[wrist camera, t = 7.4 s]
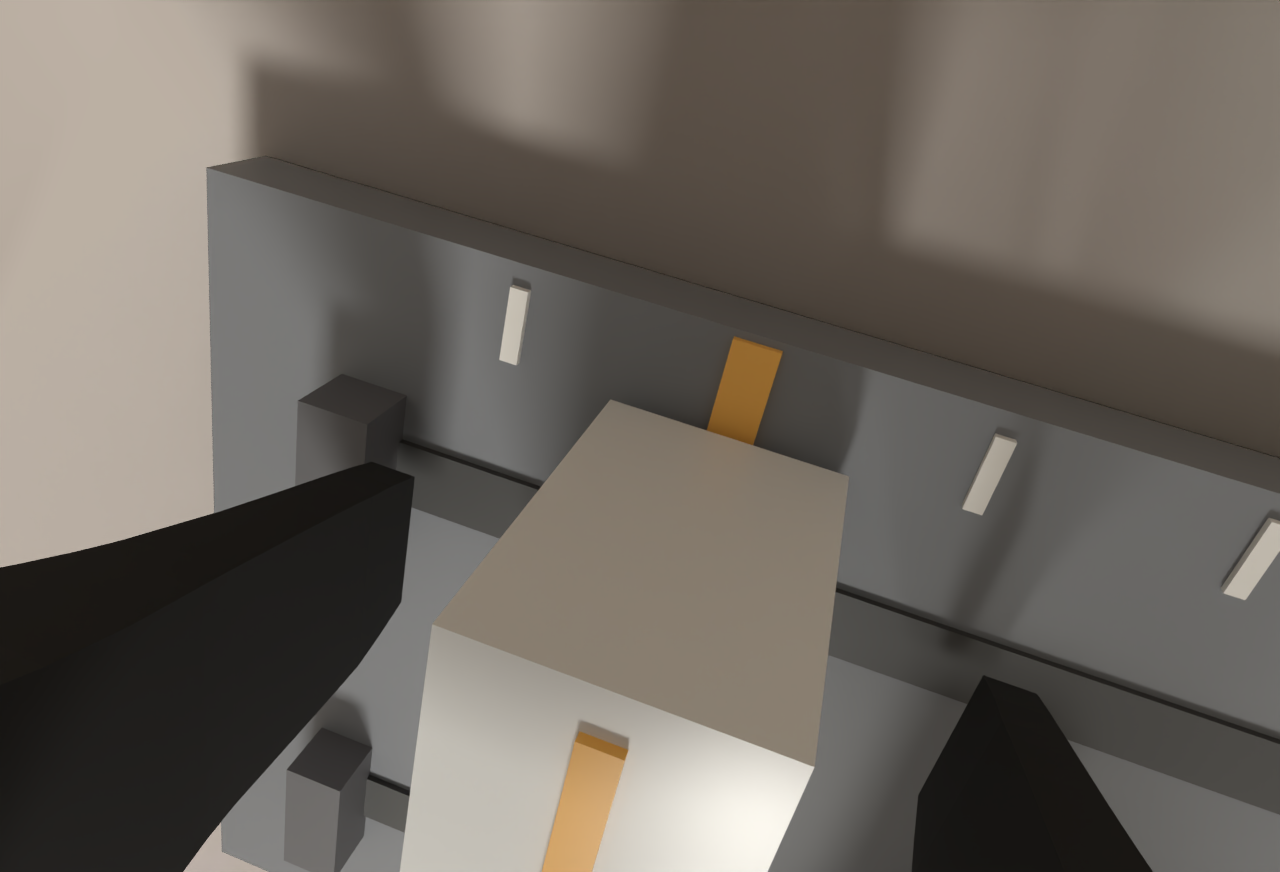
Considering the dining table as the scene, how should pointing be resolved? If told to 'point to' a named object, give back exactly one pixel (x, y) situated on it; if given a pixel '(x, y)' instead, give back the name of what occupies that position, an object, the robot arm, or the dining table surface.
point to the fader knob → (633, 663)
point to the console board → (782, 423)
